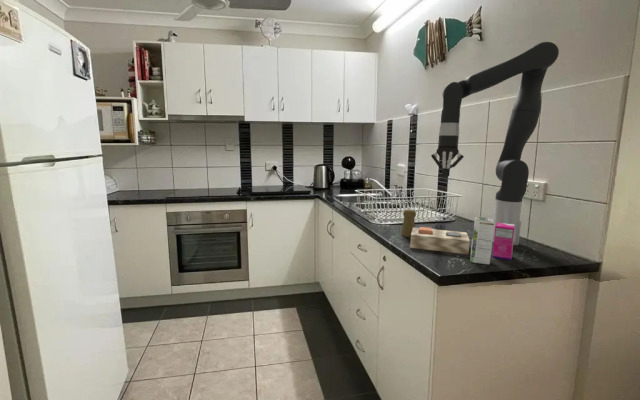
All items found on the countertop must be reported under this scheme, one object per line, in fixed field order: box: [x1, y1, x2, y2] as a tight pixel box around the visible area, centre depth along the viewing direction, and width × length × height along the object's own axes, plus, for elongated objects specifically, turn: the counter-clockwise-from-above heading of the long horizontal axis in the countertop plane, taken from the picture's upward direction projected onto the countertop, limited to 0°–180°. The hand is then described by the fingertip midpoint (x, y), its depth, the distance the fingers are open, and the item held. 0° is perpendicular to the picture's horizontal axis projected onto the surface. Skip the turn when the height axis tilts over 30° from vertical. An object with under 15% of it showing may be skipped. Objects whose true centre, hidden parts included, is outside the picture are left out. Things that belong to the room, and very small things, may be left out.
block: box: [409, 226, 471, 255], centre depth 125 cm, size 20×12×5 cm, turn 71°
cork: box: [400, 208, 417, 238], centre depth 140 cm, size 6×6×11 cm
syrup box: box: [469, 216, 495, 265], centre depth 109 cm, size 6×6×14 cm
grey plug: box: [447, 232, 460, 237], centre depth 123 cm, size 4×4×5 cm
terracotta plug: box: [419, 226, 433, 234], centre depth 126 cm, size 4×4×5 cm
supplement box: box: [492, 223, 515, 261], centre depth 114 cm, size 6×6×12 cm
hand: (445, 177), depth 136 cm, fingers closed
